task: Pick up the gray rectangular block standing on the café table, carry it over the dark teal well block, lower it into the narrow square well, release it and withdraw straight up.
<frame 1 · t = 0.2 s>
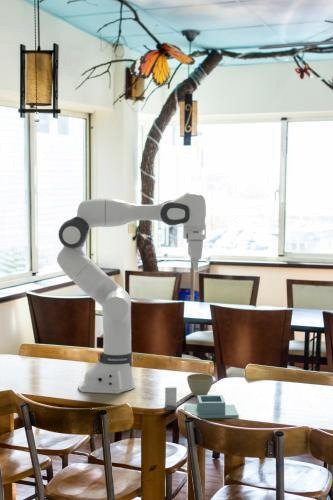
hand: (194, 269, 281), 47 cm above the table, fingers open, 8 cm apart
flower pot: (199, 395, 273), on the table
well: (210, 412, 251), on the table
gray rectangular block: (170, 408, 256), on the table
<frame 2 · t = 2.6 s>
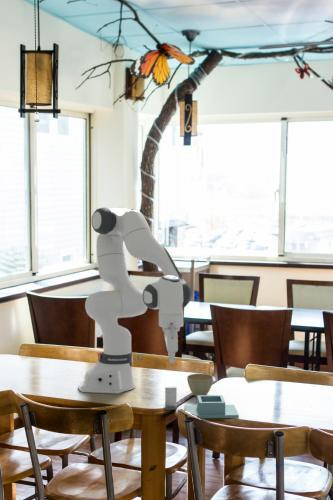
hand: (171, 359, 254), 18 cm above the table, fingers open, 8 cm apart
nothing on the table moved.
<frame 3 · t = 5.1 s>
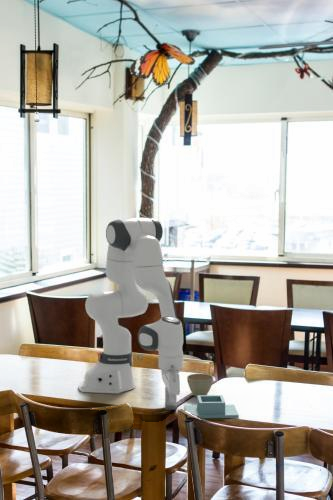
hand: (170, 400, 255), 3 cm above the table, fingers closed on gray rectangular block, 2 cm apart
gray rectangular block: (170, 408, 256), on the table, touching gripper
everything else where it was.
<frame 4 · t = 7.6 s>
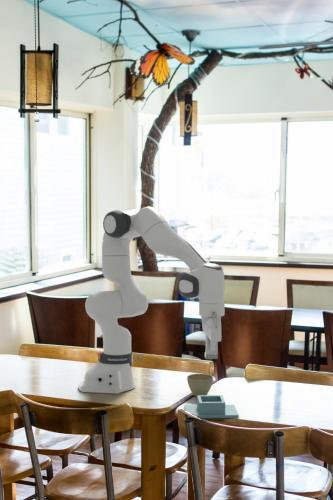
hand: (211, 349, 248), 23 cm above the table, fingers closed on gray rectangular block
gray rectangular block: (211, 358, 248), point 20 cm above the table, touching gripper
everything else where it was.
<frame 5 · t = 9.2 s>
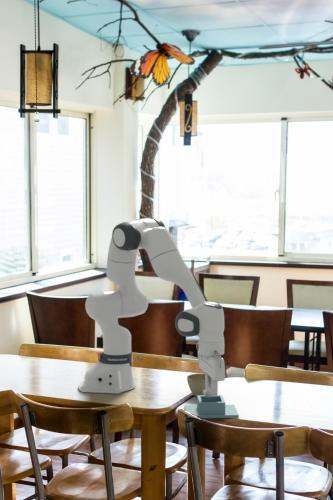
hand: (211, 387, 249), 10 cm above the table, fingers closed on gray rectangular block
gray rectangular block: (211, 396, 249), point 6 cm above the table, touching gripper
everything else where it was.
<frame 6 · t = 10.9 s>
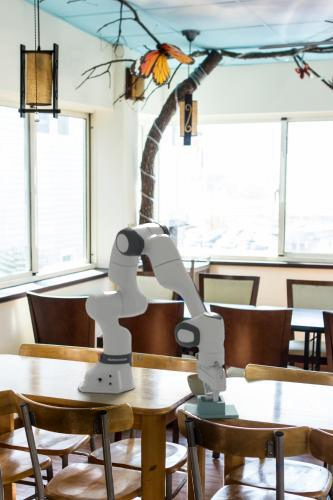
hand: (211, 397, 250), 6 cm above the table, fingers open, 6 cm apart
gray rectangular block: (211, 410, 250), point 1 cm above the table, touching well
everything else where it was.
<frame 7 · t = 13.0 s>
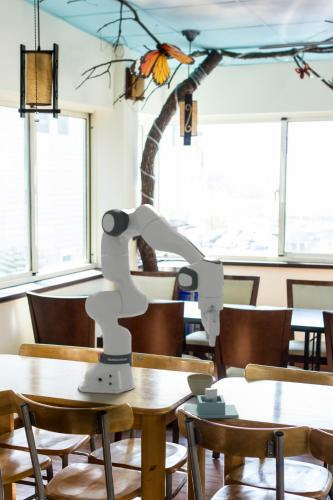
hand: (210, 342, 249), 25 cm above the table, fingers open, 8 cm apart
nothing on the table moved.
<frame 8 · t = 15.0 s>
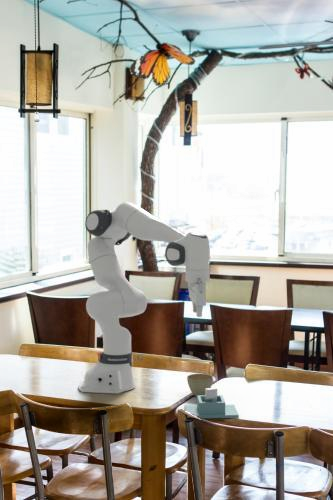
hand: (197, 314, 260), 33 cm above the table, fingers open, 8 cm apart
nothing on the table moved.
at the end: gray rectangular block 0.6 cm off-centre on the well, point 1.0 cm above the well's base; gray rectangular block tilted 0°; the gripper is holding nothing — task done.
